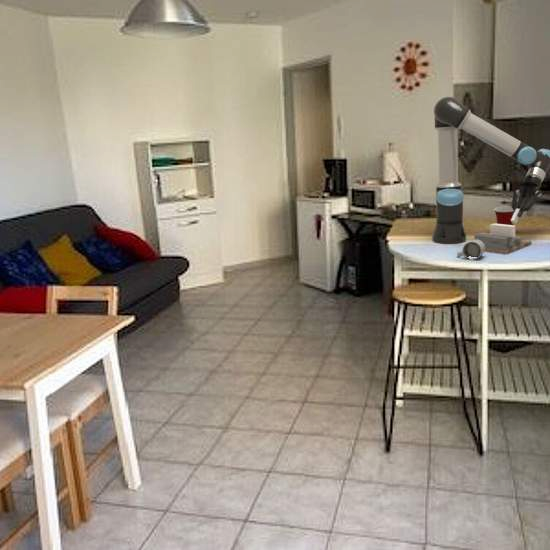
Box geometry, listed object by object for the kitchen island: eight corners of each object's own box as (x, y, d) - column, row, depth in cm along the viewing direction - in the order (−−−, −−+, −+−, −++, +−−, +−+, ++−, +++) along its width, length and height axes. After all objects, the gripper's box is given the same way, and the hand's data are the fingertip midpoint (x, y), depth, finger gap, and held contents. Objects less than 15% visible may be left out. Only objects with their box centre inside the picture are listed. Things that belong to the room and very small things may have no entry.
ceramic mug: (486, 255, 236) (486, 237, 234) (481, 260, 230) (481, 242, 228) (460, 254, 242) (460, 236, 240) (454, 259, 235) (454, 240, 233)
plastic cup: (487, 232, 279) (488, 207, 276) (504, 229, 283) (506, 205, 279) (504, 235, 269) (505, 210, 266) (521, 232, 273) (523, 207, 270)
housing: (496, 240, 262) (497, 226, 260) (531, 244, 250) (532, 229, 248) (471, 249, 248) (471, 234, 246) (506, 254, 236) (507, 239, 234)
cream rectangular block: (493, 241, 253) (493, 223, 251) (514, 243, 246) (515, 225, 244) (489, 242, 251) (490, 224, 249) (511, 245, 244) (512, 226, 242)
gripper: (550, 185, 255) (530, 228, 249) (522, 184, 265) (502, 225, 259) (545, 175, 250) (525, 218, 245) (517, 174, 260) (496, 215, 254)
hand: (513, 222), depth 252 cm, fingers closed
